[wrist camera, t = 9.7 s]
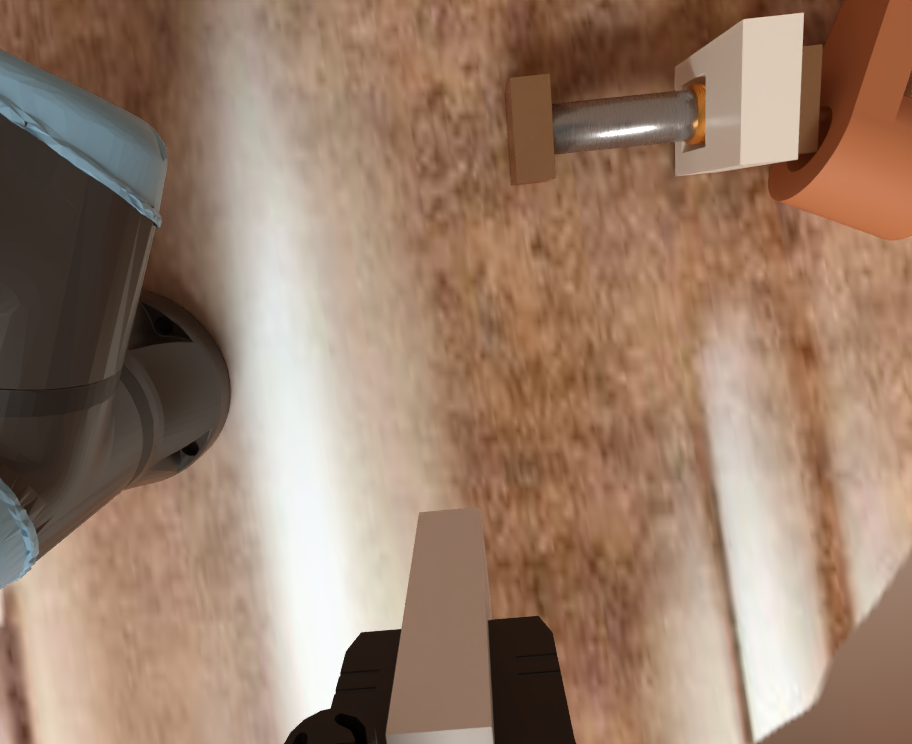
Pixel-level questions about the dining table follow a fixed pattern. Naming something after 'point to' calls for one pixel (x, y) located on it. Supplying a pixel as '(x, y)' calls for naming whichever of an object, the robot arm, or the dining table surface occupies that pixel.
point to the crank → (860, 126)
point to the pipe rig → (623, 120)
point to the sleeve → (746, 96)
